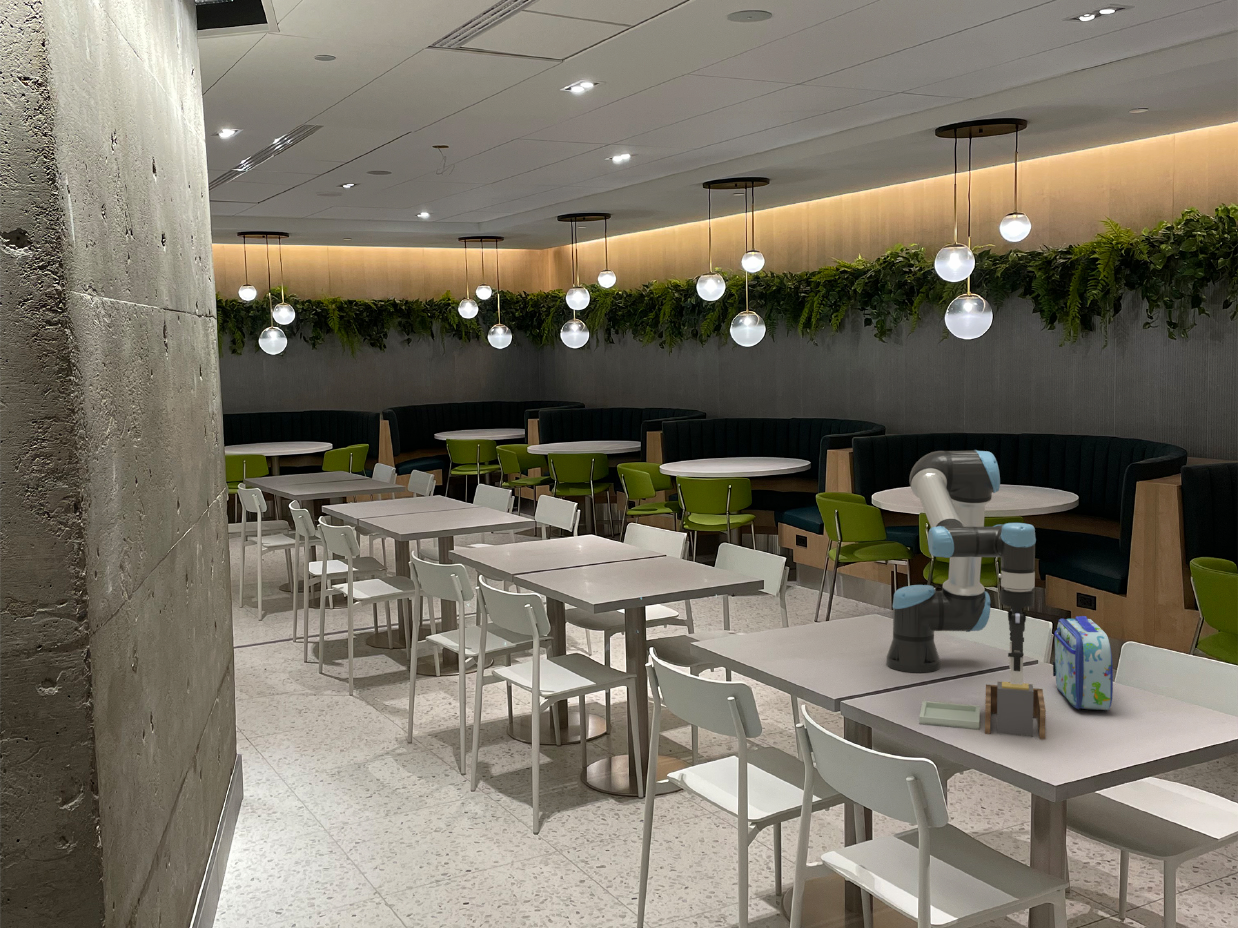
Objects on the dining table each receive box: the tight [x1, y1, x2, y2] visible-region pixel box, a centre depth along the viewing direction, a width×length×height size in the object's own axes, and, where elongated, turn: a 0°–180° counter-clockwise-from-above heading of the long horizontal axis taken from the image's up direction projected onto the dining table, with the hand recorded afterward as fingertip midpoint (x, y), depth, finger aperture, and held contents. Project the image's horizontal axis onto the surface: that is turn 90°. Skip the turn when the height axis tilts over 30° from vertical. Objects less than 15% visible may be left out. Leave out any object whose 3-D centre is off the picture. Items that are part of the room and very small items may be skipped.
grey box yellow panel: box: [996, 681, 1034, 738], centre depth 256 cm, size 6×8×11 cm
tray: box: [918, 700, 981, 730], centre depth 266 cm, size 13×14×2 cm
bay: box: [984, 684, 1047, 740], centre depth 260 cm, size 17×13×7 cm
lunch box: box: [1052, 615, 1114, 711], centre depth 278 cm, size 26×11×21 cm, turn 168°
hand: (1015, 676), depth 255 cm, fingers open, 13 cm apart
